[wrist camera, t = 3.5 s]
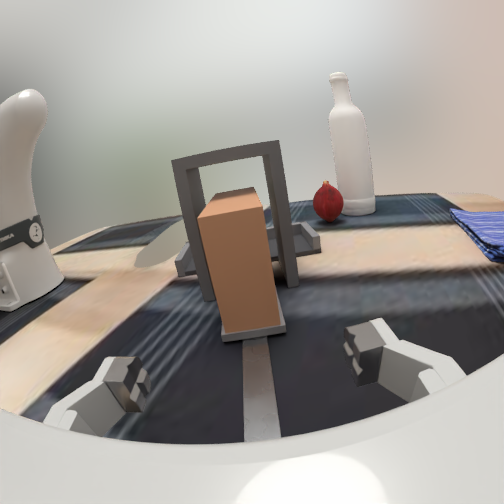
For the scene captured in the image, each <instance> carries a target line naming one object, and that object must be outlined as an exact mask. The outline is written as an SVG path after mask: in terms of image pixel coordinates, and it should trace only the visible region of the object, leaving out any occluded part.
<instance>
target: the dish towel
mask: <svg viewBox="0 0 504 504" xmlns="http://www.w3.org/2000/svg"><path fill="white" fill-rule="evenodd" d="M450 214H451V216H452V219H453V220H454V221H455V222H456V223H457V224H458V225H459V226H460V227H461V228H462V229H463V230H464V231H465V232H466V233H467V234H468V236H469V237H470V238H471V239H472V240H473V241H474V242H475V244H476V245H477V246H478V248H479V249H480V250H481V251H482V252H483V254H484V255H485V256H486V257H487V258H489V259H490V260H491V261H496V262H504V212H468V211H463V210H456V209H450Z"/></svg>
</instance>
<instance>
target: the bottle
mask: <svg viewBox="0 0 504 504" xmlns="http://www.w3.org/2000/svg"><path fill="white" fill-rule="evenodd" d="M329 77H330V80H329V81H330V83H331V86H332V91H333V96H334V101H335V106H334V108H333V109H332V110H331V112H330V115H329V128H330V134H331V141H332V147H333V154H334V160H335V168H336V175H337V185H338V191H339V192H340V193H341V195H342V197H343V201H344V206H343V209H342V212H341V213H342V214H344V215H349V216H361V215H368V214H371V213H373V212H375V196H374V186H373V175H372V167H371V158H370V150H369V143H368V136H367V130H366V123H365V118H364V116H363V114H362V113H361V111H360V109H358V108H357V107H356V106H355V105H353V104H352V100H351V95H350V90H349V86H348V79H347V77H346V74H345V73H342V72H336V73H332V74H330V76H329Z"/></svg>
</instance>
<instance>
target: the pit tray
mask: <svg viewBox="0 0 504 504" xmlns="http://www.w3.org/2000/svg"><path fill="white" fill-rule="evenodd" d="M292 229H293V237H294V245H295V253H296V257H299V256H304V255H310V254H315V253H321V245H320V236H319V235H318V234H317V233H316V232H315V231H314V230H313V229H312V228H311V227H310V226H309V225H308V224H307V223H306V222H305V221H303V222H297V223H292ZM266 231H267V237H268V244H269V250H270V256H271V261H276V260H279V258H278V251H277V244H276V238H275V231H274V226H273V227H267V228H266ZM175 265H176V269H177V272H178V276H179V277H181V276H187V275H194V274H197V272H196V268H195V264H194V260H193V257H192V253H191V248H190V244H189V242H186V244H185V245H184V247H183V248H182V250H181V251H180V253H179V255H178V256H177V258H176V259H175Z"/></svg>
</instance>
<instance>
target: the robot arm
mask: <svg viewBox="0 0 504 504" xmlns="http://www.w3.org/2000/svg"><path fill="white" fill-rule="evenodd" d="M47 115H48V110H47V104H46V101H45V99H44V97H43V96H42V95H41V94H40V93H39V92H38V91H35V90H33V89H26V90H24V91H21V92H19V93H17V94H15V95H13V96H11V97H9V98H8V99H7V100H5V101H4V102H3V103H2V104H1V105H0V310H4V311H13V310H15V309H17V308H18V307H20V306H22V305H24V304H26V303H28V302H30V301H32V300H35V299H37V298H39V297H41V296H42V295H44V294H46V293H48V292H49V291H51V290H52V289H54V288H55V287H56V286H58V285H59V284H60V283H61V282H62V281H63V279H64V276H63V274H62V273H61V271H60V269H59V268H58V266H57V264H56V262H55V260H54V258H53V256H52V254H51V251H50V249H49V247H48V244H47V243H46V241H45V238H44V234H43V226H42V221H41V219H40V216H39V215H37V211H36V206H35V202H34V196H33V190H32V184H31V165H32V158H33V153H34V148H35V145H36V142H37V139H38V137H39V135H40V133H41V131H42V129H43V128H44V126H45V124H46V121H47ZM33 216H34V217H33ZM28 218H29V219H28ZM344 338H345V340H346V343H345V344H344V357H345V361H346V364H347V366H348V368H350V369H352V378H353V380H354V382H355V384H356V386H357V387H360V386H364V385H367V384H371V383H375V382H378V383H379V384H381V385H382V386H384V387H385V388H387V389H388V390H390V391H392V392H393V393H395V394H396V395H398V396H399V397H401V398H403V399H404V400H406V401H407V402H409V403H408V404H406V405H403V406H401V407H398V408H395V409H393V410H390V411H387V412H384V413H381V414H378V415H375V416H372V417H369V418H366V419H363V420H359V421H356V422H352V423H349V424H345V425H341V426H337V427H333V428H329V429H325V430H321V431H316V432H311V433H306V434H301V435H295V436H290V437H283V438H277V439H270V440H262V441H253V442H242V443H228V444H201V445H185V444H159V443H145V442H135V441H126V440H118V439H111V438H105V437H102V436H103V435H104V434H105V433H106V432H107V431H108V430H109V429H110V428H111V427H112V426H113V425H114V424H115V423H116V422H117V421H118V420H119V419H120V418H121V417H122V416H123V415H124V414H125V412H143V410H144V407H145V404H146V399H145V396H146V395H147V394H149V392H150V389H151V381H150V378H149V375H148V373H147V372H146V371H145V370H143V369H142V365H143V364H142V362H141V360H140V358H138V357H107V358H105V360H104V361H103V363H102V365H101V366H100V368H99V370H98V372H97V373H96V375H95V377H94V379H93V380H92V381H89V382H87V383H86V384H84V385H83V386H81V387H80V388H78V389H77V390H75V391H74V392H72V393H71V394H69V395H68V396H66V397H65V398H63V399H62V400H60V401H59V402H57V403H56V404H54V405H53V406H52V408H51V409H50V411H49V413H48V415H47V416H46V418H45V420H44V422H43V423H40V422H37V421H34V420H31V419H28V418H25V417H22V416H19V415H16V414H14V413H11V412H9V411H6V410H4V409H1V408H0V504H504V354H502V355H501V356H499V357H498V358H496V359H495V360H493V361H492V362H490V363H488V364H487V365H485V366H483V367H482V368H480V369H478V370H477V371H475V372H473V373H471V374H470V375H468V376H466V374H465V373H464V372H463V371H462V369H461V368H460V367H459V366H458V365H457V363H456V362H455V361H454V360H453V359H452V358H451V357H449V356H446V355H443V354H440V353H437V352H434V351H432V350H429V349H426V348H423V347H421V346H418V345H415V344H412V343H410V342H407V341H404V340H401V341H399V340H398V338H397V337H396V336H395V334H394V333H393V332H392V330H391V329H390V328H389V327H388V325H387V324H386V323H385V321H384V320H383V319H382V318H378V319H375V320H372V321H369V322H366V323H362V324H358V325H354V326H350V327H346V328H345V329H344Z"/></svg>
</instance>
